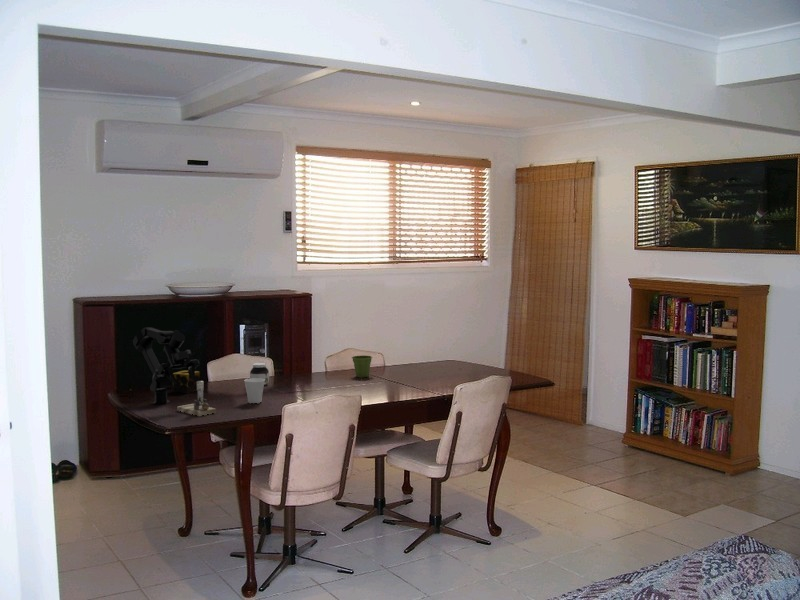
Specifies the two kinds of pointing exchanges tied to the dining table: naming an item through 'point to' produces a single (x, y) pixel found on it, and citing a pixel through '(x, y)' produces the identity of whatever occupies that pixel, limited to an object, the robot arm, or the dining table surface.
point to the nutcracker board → (197, 408)
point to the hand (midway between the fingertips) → (185, 382)
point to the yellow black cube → (185, 382)
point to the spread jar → (260, 372)
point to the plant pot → (362, 365)
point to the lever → (200, 392)
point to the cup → (254, 389)
